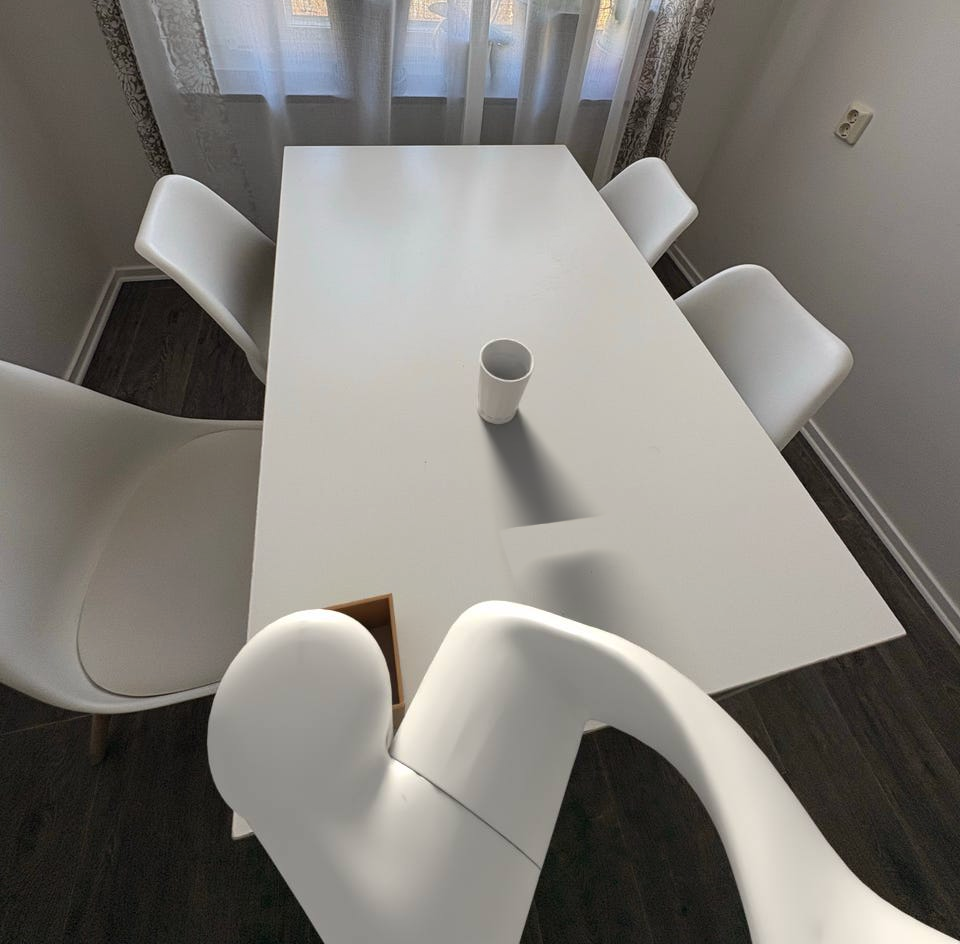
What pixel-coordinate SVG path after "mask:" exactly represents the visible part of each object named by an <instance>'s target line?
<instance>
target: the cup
mask: <svg viewBox="0 0 960 944" xmlns="http://www.w3.org/2000/svg"><path fill="white" fill-rule="evenodd" d="M535 366H536V361H535V356H534V354H533V352H532V350H531V349H530V348H529V347H527V345H526V344H524V343H523V342H520V341H518V340H516V339H512V338H504V337H503V338H497V339H493V340H490V341H489V342H487V343H486V344H485V345H484V346H483V347H482V348H481V350H480V352H479V360H478V387H477V388H478V389H477V402H476V409H477V413H478V415H479V416H480V417H481V418H482V419H483V420H484V421H486V422H488V423H490V424H493V425H503V424H506V423H509V422H511V421H512V420H513V419H514V417H516V413H517V410H518V407H519V405H520V402H521V399H522V398H523V396H524V393H525V390H526V388H527V386H528V384H529V381H530V379H531V376H532V374H533V371H534V369H535Z"/></svg>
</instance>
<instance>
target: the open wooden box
mask: <svg viewBox="0 0 960 944" xmlns="http://www.w3.org/2000/svg"><path fill="white" fill-rule="evenodd" d="M393 597H394V596H393V593H392V592H388V593H384V594H380V595H376V596H375V595H374V596H371V597H366V598H362V599H356V600H352V601H348V602H343V603H339V604H334V605H329V606H324V607H320V608H319V609H323V610H331V611H336V612H339V613H342V614H345V615H347V616H349V617H351V618H353V619H354V620H356V621H357V622H359V623H360V624H361V625H362V626H364V627H365V628H366V629H367V630H368V631H369V633H370V634H371V635H372V636H373V638H374V639H375V641H376V642H377V644H378V645H379V647H380V649H381V651H382V653H383V656H384V658H385V661H386V664H387V668H388V671H389V676H390V683H391V691H392V706H393V705H397V704H401V703H404V702H405V696H404V687H403V678H402V668H401V660H400V651H399V643H398V633H397V624H396V616H395V607H394V598H393ZM405 715H406V709H405V710H403V711H399V712H396V713H392V717H393V729H396V728H399V727H400V725H401V723H402V721H403V719H404V717H405Z"/></svg>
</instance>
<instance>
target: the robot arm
mask: <svg viewBox="0 0 960 944" xmlns="http://www.w3.org/2000/svg"><path fill="white" fill-rule="evenodd" d="M211 705H212V706H211V710H210V713H209V717H208V723H207V724H208V725H207V736H206V737H207V739H206V745H207V746H206V748H207V757H208V765H209V769H210V774H211V775H212V776H211V777H212V780H213V782H214V785H215V787H216V789H217V791H218V793H219V794H220V796H221V798H222V799H223V801H224V802H225V803H226V805H227V806H228V807H229V808H230V809H231V810H232V811H233V812H235V813H236V814H237V815H238V816H239V817H241V818H242V819H244V820H245V822H246V824H247V825H248V826H249V828H250V829H251V831H252V832H253V833H254V835H255V837H256V838H257V840H258V841H259V843H260V844H261V845H262V847H263V849H264V850H265V851H266V853H267V855H268V856H269V858H270V859H271V860H272V861H271V862H273V864H274V865H275V866H276V868H277V871H279V873H280V875H281V876H282V878H283V879H284V881H285V882H286V884H287V887H288V888H289V889H290V891H291V892H292V894H293V895H294V897H295V899H296V900H297V901H298V904H299V905H300V906H301V908H302V909H303V911H304V912H305V914H306V916H307V917H308V919H309V921H310V922H311V924H312V926H313V928H314V929H315V931H316V932H317V934H318V936H319V937H320V939H321V941H322V942H323V943H324V944H520V942H521V938H522V935H523V933H524V932H523V931H524V929H525V925H526V921H527V919H528V915H529V911H530V908H531V905H532V901H533V899H534V896H535V892H536V888H537V885H538V882H539V879H540V878H539V877H540V875H541V873H542V869H543V866H544V863H545V859H546V856H547V852H548V849H549V847H550V843H551V840H552V836H553V833H554V830H555V826H556V823H557V820H558V817H559V813H560V809H561V806H562V803H563V800H564V797H565V793H566V790H567V786H568V783H569V780H570V776H571V774H572V770H573V767H574V764H575V760H576V758H577V754H578V752H579V748H580V744H581V742H582V738H583V734H584V730H585V726H586V725H587V723H588V722H590V721H596V722H599V723H601V724H604V725H607V726H610V727H612V728H614V729H617V730H619V731H621V732H623V733H626V734H627V735H630V736H632V737H634V738H635V739H637V740H638V741H640V742H642V743H643V744H645V745H646V746H648V747H650V748H651V749H652V750H654V751H656V752H657V753H658V754H659V755H660V756H662V757H663V758H665V760H667V761H668V763H670V764H671V765H672V766H673V767H674V768H675V769H676V770H677V771H678V772H679V774H680V775H681V776H682V777H683V778H684V779H685V780H686V782H687V783H688V784H689V785H690V787H691V788H692V789H693V791H694V792H695V793H696V795H697V796H698V799H699V800H700V802H701V803H702V804H703V806H704V808H705V810H706V812H707V814H708V816H709V818H710V819H711V821H712V823H713V825H714V827H715V830H716V831H717V833H718V835H719V839H720V840H721V843H722V845H723V849H724V850H725V853H726V856H727V858H728V861H729V864H730V867H731V870H732V874H733V876H734V880H735V883H736V886H737V890H738V893H739V896H740V897H739V898H740V900H741V904H742V907H743V911H744V915H745V918H746V922H747V926H748V929H749V930H748V931H749V934H750V940H751V943H752V944H960V940H957V939H956V938H954V937H951V936H950V935H947V934H945V933H943V932H941V931H939V930H937V929H935V928H933V927H931V926H929V925H927V924H925V923H923V922H921V921H919V920H917V919H916V918H915V917H912V916H911V915H908V914H907V913H905V912H904V911H902V910H900V909H898V908H897V907H896V906H894V905H893V904H891V903H890V902H888V901H886V900H885V899H883V898H882V897H881V896H879V895H878V894H877V893H876V892H874V891H873V890H872V889H871V888H870V887H869V886H868V885H866V884H865V883H863V881H861V880H860V879H859V877H858V876H857V875H856V874H855V873H854V872H852V870H851V869H850V868H849V867H848V865H847V864H846V863H845V862H844V860H843V859H842V858H841V857H840V856H839V854H838V853H837V852H836V851H835V849H834V848H833V847H832V846H831V845H830V843H829V842H828V840H827V839H826V838H825V836H824V835H823V833H822V832H821V830H820V829H819V828H818V826H817V824H815V822H814V820H813V819H812V818H811V816H810V815H809V814H808V812H807V810H806V809H805V808H804V806H803V805H802V803H801V802H800V800H799V799H798V798H797V796H796V795H795V793H794V792H793V790H792V789H791V788H790V786H789V785H788V783H787V782H786V781H785V780H784V778H783V777H782V775H781V774H780V773H779V771H778V770H777V768H776V767H775V766H774V764H773V763H772V762H771V760H769V758H768V757H767V756H766V754H765V753H764V752H763V751H762V749H761V748H760V747H759V746H758V745H757V744H756V743H755V742H754V740H753V739H752V738H751V737H750V736H749V735H748V734H747V732H746V731H745V730H744V729H743V727H742V726H741V725H740V724H739V723H738V722H737V721H736V720H735V719H734V718H732V716H731V715H730V714H728V712H727V711H726V710H725V709H724V708H722V706H720V704H718V702H716V701H715V700H714V699H713V698H712V697H710V696H709V695H708V694H707V693H706V692H704V690H703V689H702V688H700V687H699V686H698V685H697V684H696V683H694V681H692V680H691V679H689V678H688V677H686V676H685V675H684V674H682V673H681V672H679V671H678V670H676V669H675V667H673V666H671V665H670V664H668V663H667V662H666V661H665V660H663V659H661V658H659V657H658V656H656V655H654V654H653V653H651V652H649V651H648V650H647V649H645V648H643V647H642V646H639V645H637V644H635V643H633V642H631V641H629V640H627V639H626V638H623V637H622V636H619V635H617V634H614V633H611V632H608V631H605V630H603V629H600V628H597V627H595V626H590V625H587V624H585V623H581V622H578V621H575V620H573V619H571V618H568V617H564V616H561V615H558V614H555V613H553V612H549V611H547V610H543V609H541V608H538V607H533V606H531V605H527V604H523V603H518V602H513V601H508V600H488V601H487V600H486V601H482V602H479V603H476V604H474V605H472V606H471V607H469V608H467V609H465V611H463V613H461V614H460V616H458V618H457V619H456V621H454V623H453V624H452V625H451V626H450V628H449V630H448V632H447V633H446V635H445V637H444V639H443V641H442V643H441V644H440V647H439V648H438V650H437V652H436V654H435V656H434V658H433V659H432V661H431V663H430V665H429V667H428V669H427V671H426V672H425V674H424V677H423V679H422V680H421V683H420V685H419V687H418V689H417V692H416V693H415V695H414V697H413V699H412V701H411V703H410V705H409V707H408V709H407V711H406V712H405V717H404V719H403V721H402V723H401V725H400V727H398V729H397V731H396V733H395V735H394V728H393V717H392V691H391V683H390V676H389V671H388V668H387V664H386V661H385V658H384V656H383V653H382V651H381V649H380V647H379V645H378V644H377V642H376V641H375V639H374V638H373V636H372V635H371V634H370V633H369V631H368V630H367V629H366V628H365V627H364V626H362V625H361V624H360V623H359V622H357V621H356V620H354V619H353V618H351V617H349V616H347V615H345V614H342V613H339V612H336V611H331V610H323V609H320V608H316V609H306V610H305V609H304V610H300V611H296V612H295V611H294V612H293V613H289V614H287V615H284V616H282V617H280V618H278V619H277V620H274V621H273V622H271V623H269V624H268V625H266V626H265V627H263V628H262V629H261V630H260V631H259V632H257V633H256V634H254V636H253V637H252V638H251V639H249V640H248V641H247V643H246V644H245V645H244V646H242V648H241V649H240V651H239V652H238V653H237V654H236V656H235V657H234V659H232V661H231V662H230V665H229V666H228V667H227V669H226V671H225V673H224V674H223V676H222V679H221V680H220V682H219V685H218V688H217V691H216V693H215V695H214V698H213V702H212V704H211Z"/></svg>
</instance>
